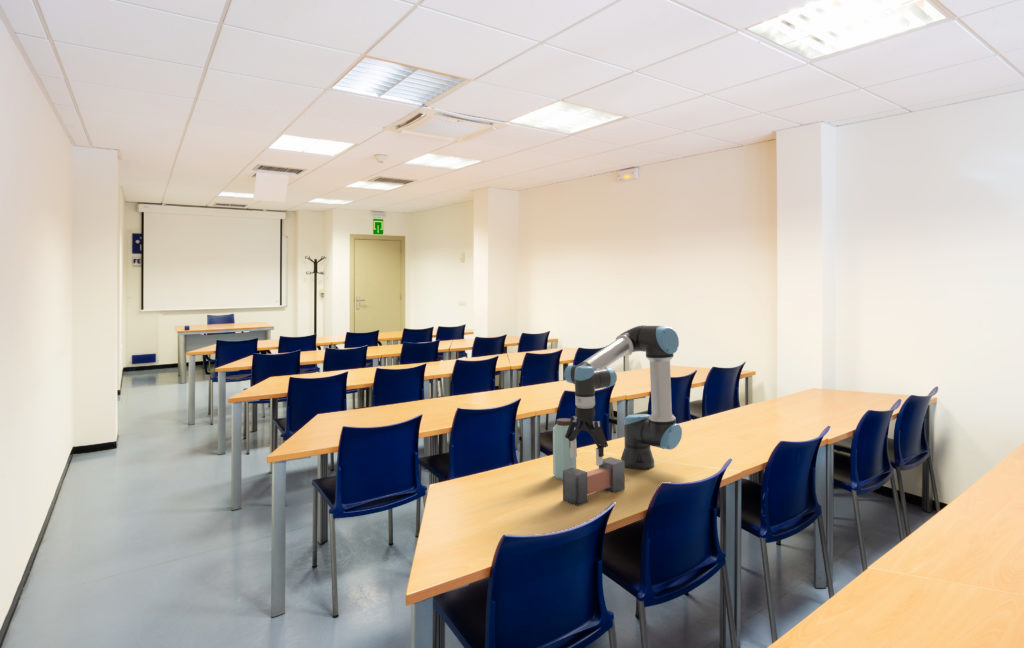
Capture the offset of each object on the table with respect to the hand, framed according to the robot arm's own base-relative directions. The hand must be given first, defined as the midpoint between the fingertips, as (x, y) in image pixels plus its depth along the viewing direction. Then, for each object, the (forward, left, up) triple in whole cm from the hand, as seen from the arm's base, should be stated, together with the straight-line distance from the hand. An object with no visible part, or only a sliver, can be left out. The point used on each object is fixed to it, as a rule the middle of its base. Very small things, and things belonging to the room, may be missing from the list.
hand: (586, 460), depth 211 cm
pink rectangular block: (-2, 0, -12) cm, 12 cm away
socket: (+6, 0, -14) cm, 16 cm away
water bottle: (-11, -23, -15) cm, 29 cm away
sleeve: (-15, 0, -14) cm, 21 cm away
